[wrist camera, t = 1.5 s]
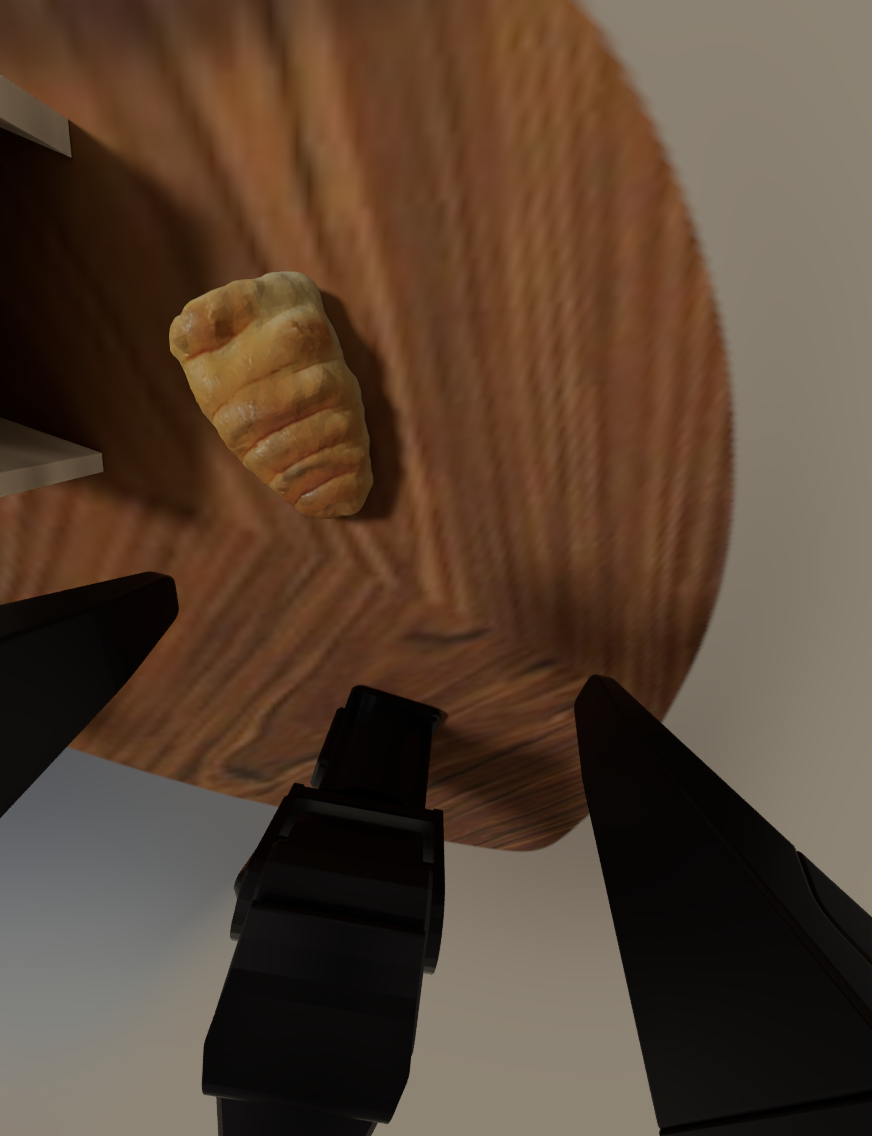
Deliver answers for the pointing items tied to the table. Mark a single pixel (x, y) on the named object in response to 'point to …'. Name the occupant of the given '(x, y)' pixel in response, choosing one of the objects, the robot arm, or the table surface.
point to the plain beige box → (4, 448)
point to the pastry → (279, 389)
